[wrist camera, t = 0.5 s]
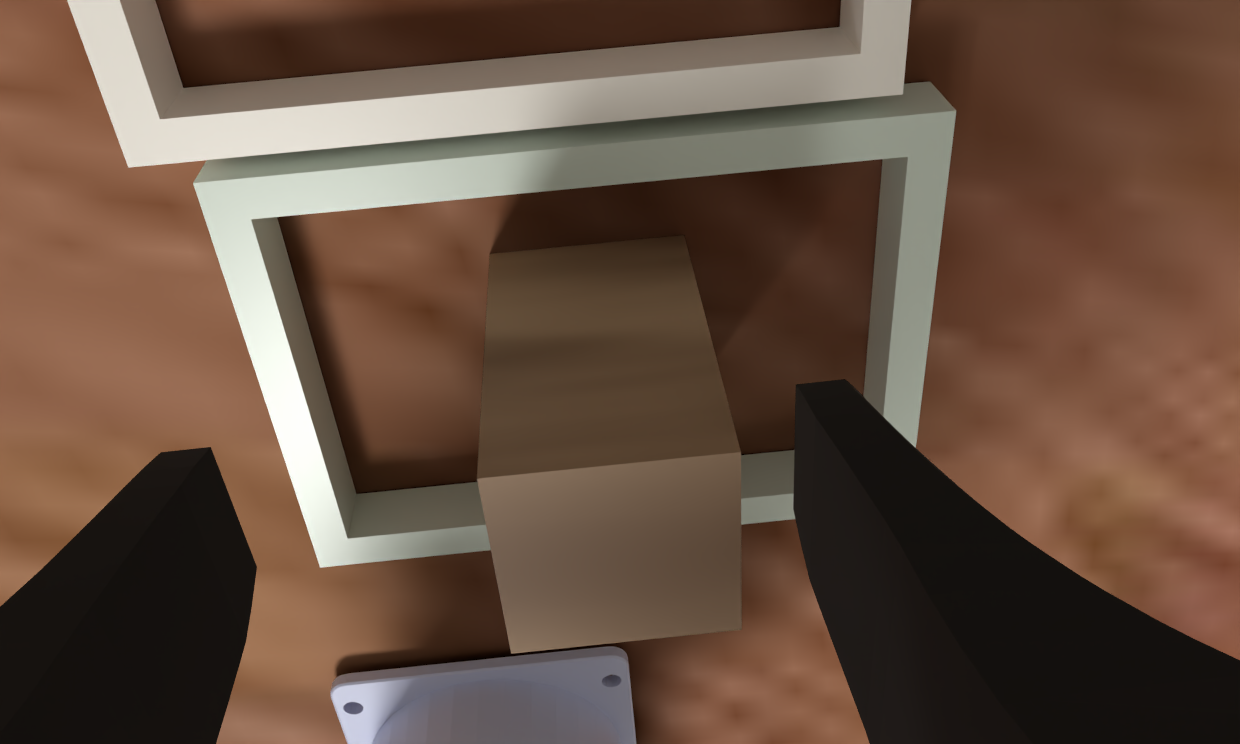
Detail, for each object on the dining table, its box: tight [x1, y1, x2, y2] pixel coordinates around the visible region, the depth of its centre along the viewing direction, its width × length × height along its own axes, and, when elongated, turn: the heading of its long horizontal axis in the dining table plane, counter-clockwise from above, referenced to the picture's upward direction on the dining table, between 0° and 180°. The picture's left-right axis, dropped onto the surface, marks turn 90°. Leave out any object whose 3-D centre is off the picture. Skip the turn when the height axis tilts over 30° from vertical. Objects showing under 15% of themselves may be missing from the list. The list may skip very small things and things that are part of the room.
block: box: [477, 235, 742, 654], centre depth 20 cm, size 4×4×7 cm
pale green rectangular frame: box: [193, 81, 956, 568], centre depth 22 cm, size 10×14×2 cm
